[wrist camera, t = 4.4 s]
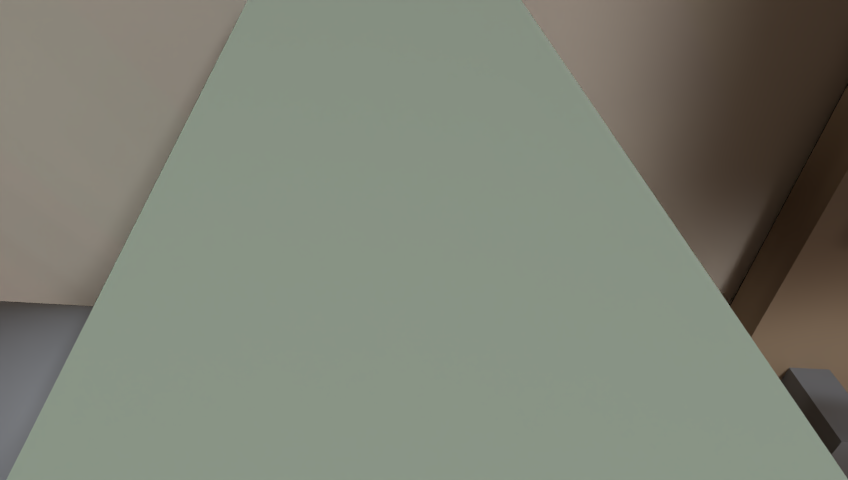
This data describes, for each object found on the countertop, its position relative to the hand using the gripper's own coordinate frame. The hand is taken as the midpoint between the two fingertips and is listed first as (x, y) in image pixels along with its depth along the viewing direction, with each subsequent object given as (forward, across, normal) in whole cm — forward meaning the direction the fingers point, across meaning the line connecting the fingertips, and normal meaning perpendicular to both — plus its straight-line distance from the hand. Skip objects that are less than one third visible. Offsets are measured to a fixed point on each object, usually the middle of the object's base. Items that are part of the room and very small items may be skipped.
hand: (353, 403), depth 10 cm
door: (+2, 0, 0) cm, 2 cm away
